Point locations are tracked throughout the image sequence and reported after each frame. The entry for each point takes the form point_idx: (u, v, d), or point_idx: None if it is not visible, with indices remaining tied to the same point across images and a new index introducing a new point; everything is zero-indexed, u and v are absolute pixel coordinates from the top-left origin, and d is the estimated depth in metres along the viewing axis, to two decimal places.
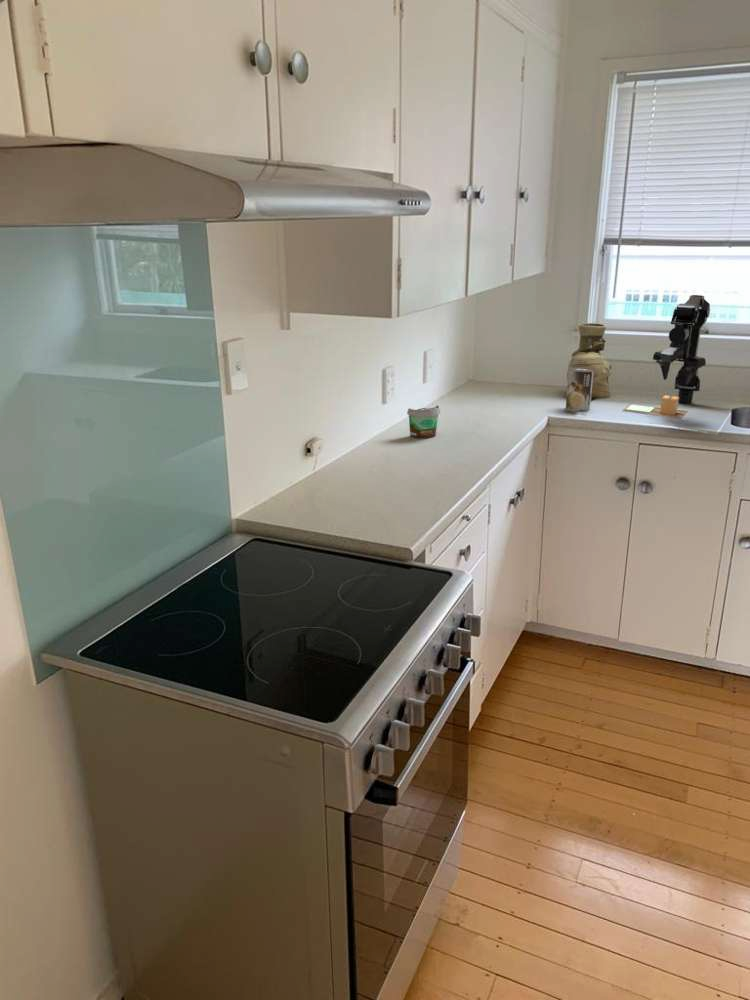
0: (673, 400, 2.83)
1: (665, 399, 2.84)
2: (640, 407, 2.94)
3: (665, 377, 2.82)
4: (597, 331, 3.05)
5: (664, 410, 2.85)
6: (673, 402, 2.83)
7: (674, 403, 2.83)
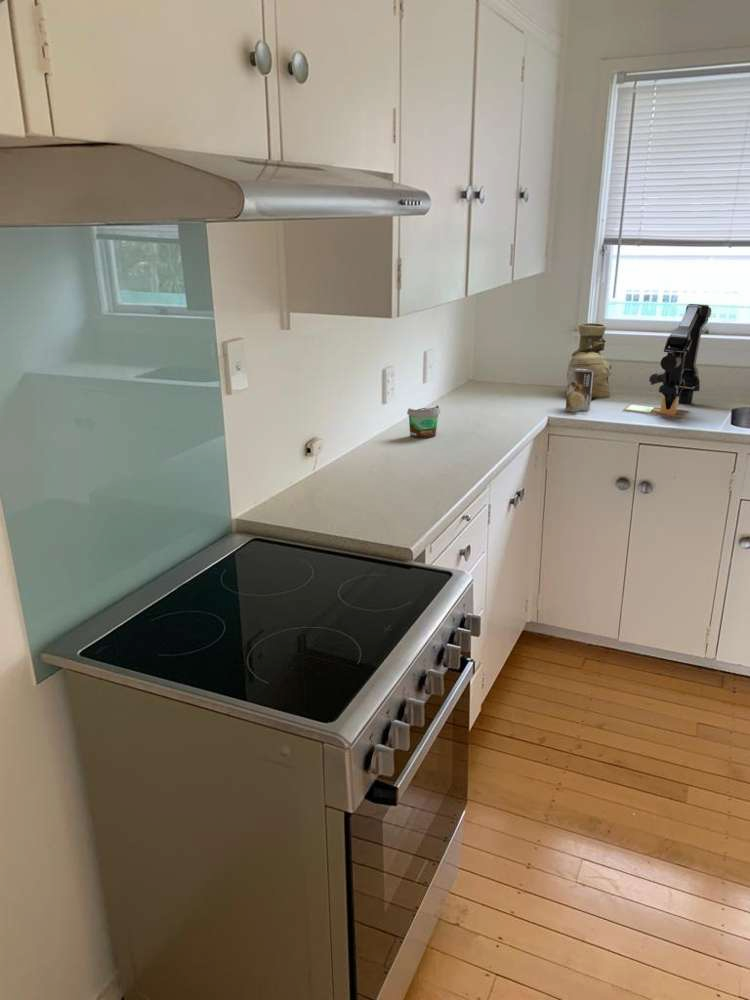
0: None
1: None
2: (640, 407, 2.94)
3: None
4: (597, 331, 3.05)
5: (664, 410, 2.85)
6: (673, 402, 2.83)
7: (674, 403, 2.83)
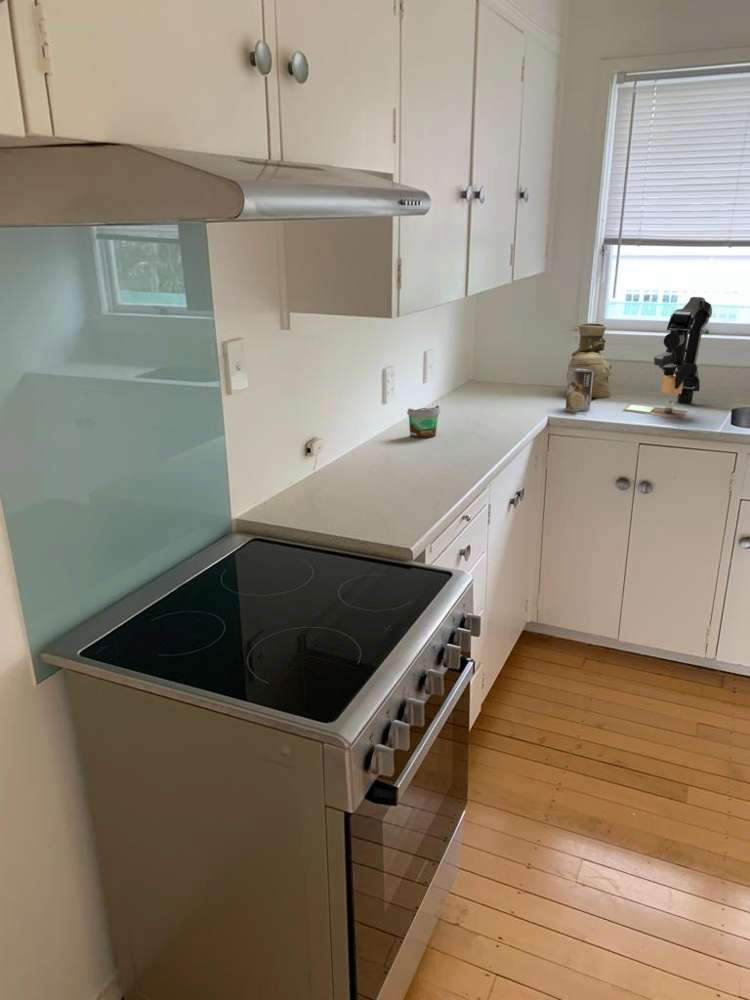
0: None
1: (674, 379, 2.80)
2: (640, 407, 2.94)
3: None
4: (597, 331, 3.05)
5: (673, 390, 2.81)
6: None
7: None
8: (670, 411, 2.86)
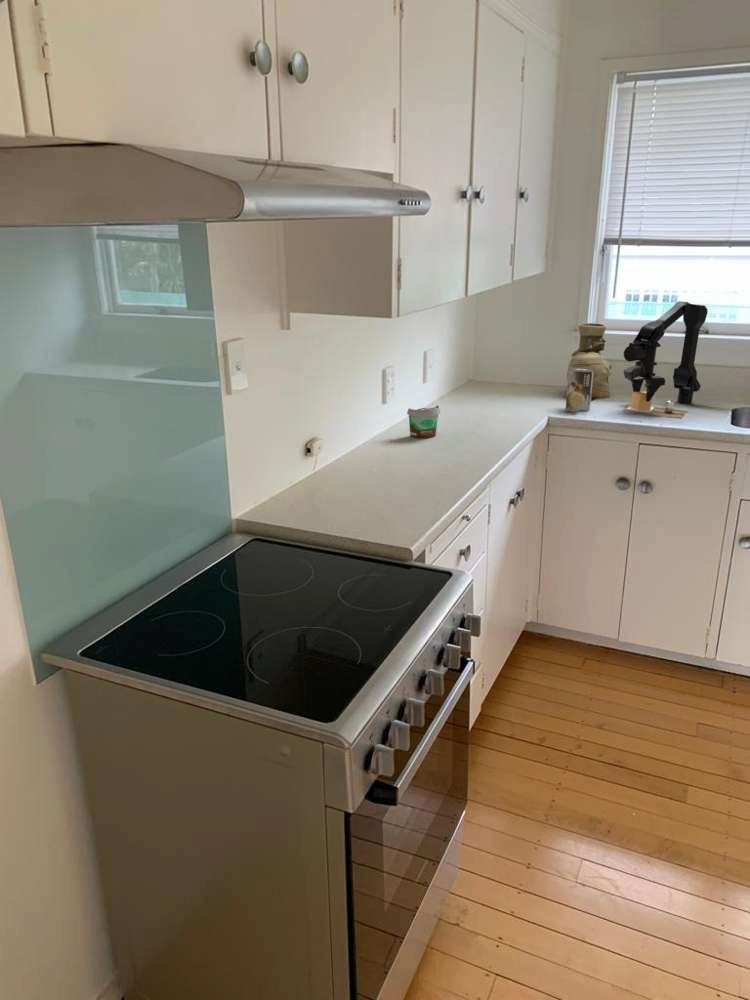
0: None
1: (643, 395, 2.88)
2: None
3: None
4: (597, 331, 3.05)
5: (641, 406, 2.89)
6: None
7: None
8: (670, 411, 2.86)
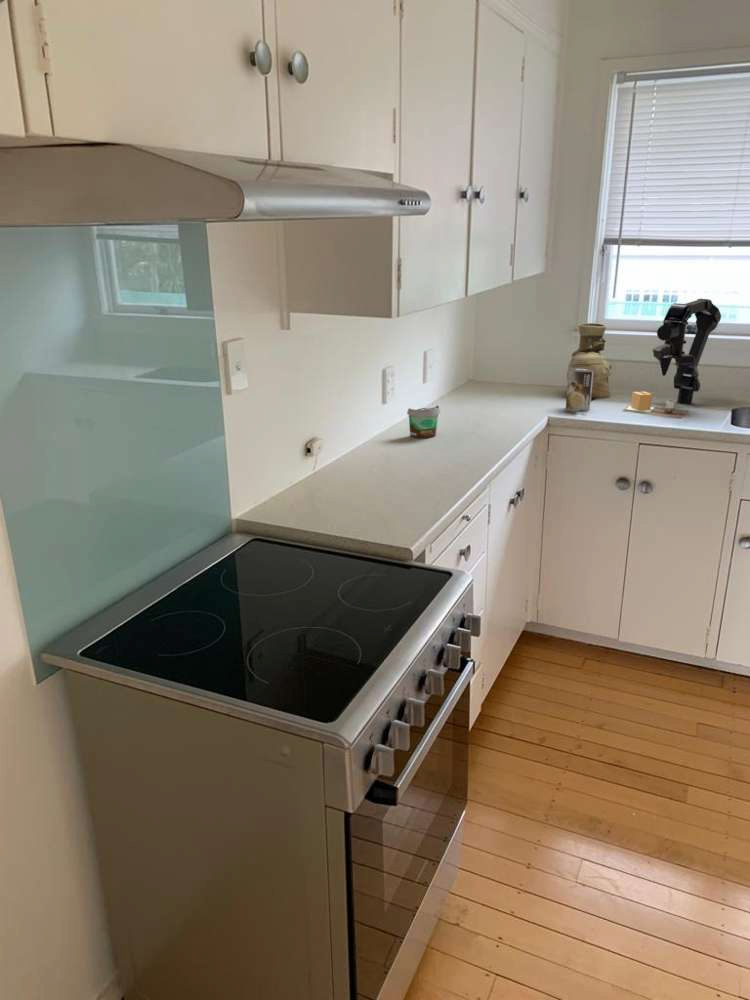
0: (649, 395, 2.88)
1: (643, 395, 2.88)
2: None
3: (664, 373, 2.95)
4: (597, 331, 3.05)
5: (641, 406, 2.89)
6: (649, 397, 2.89)
7: (650, 398, 2.89)
8: (670, 411, 2.86)
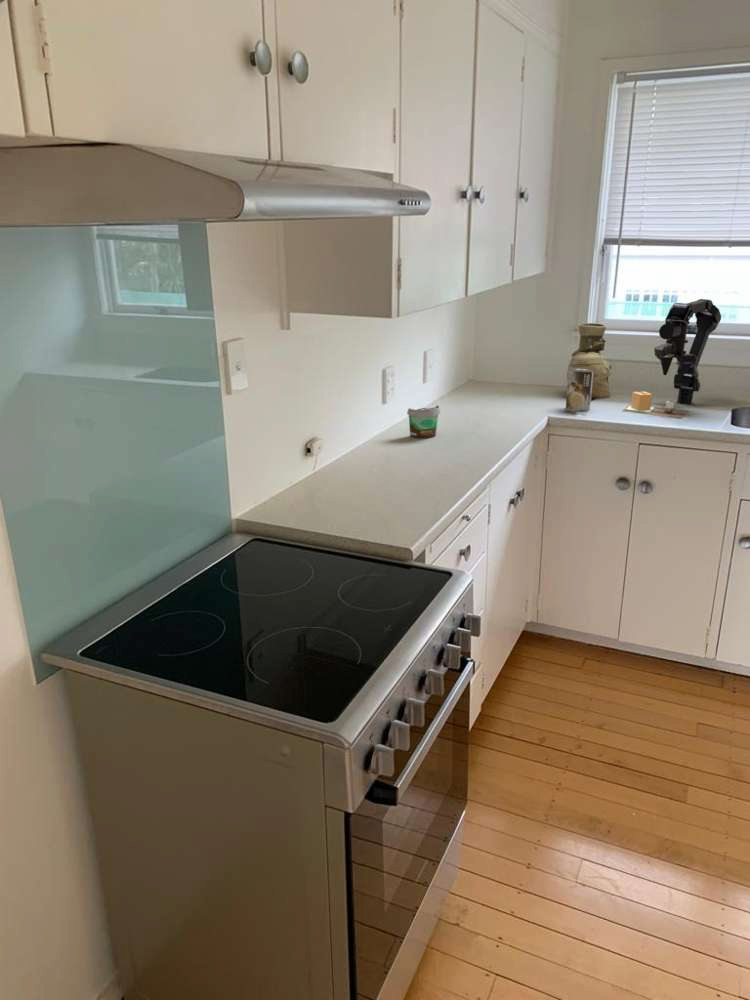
0: (649, 395, 2.88)
1: (643, 395, 2.88)
2: None
3: (665, 373, 2.95)
4: (597, 331, 3.05)
5: (641, 406, 2.89)
6: (649, 397, 2.89)
7: (650, 398, 2.89)
8: (670, 411, 2.86)
